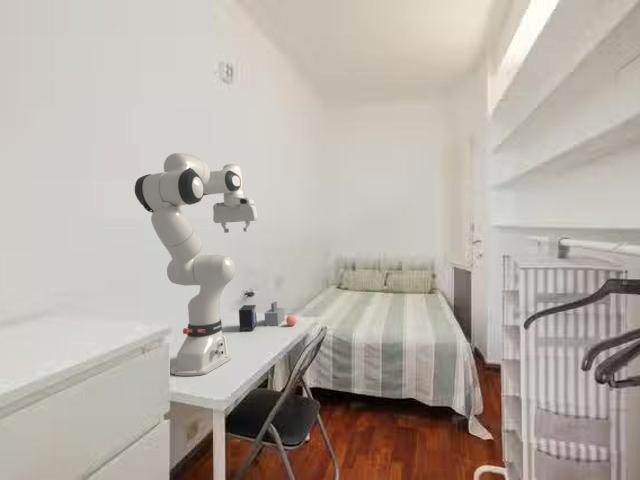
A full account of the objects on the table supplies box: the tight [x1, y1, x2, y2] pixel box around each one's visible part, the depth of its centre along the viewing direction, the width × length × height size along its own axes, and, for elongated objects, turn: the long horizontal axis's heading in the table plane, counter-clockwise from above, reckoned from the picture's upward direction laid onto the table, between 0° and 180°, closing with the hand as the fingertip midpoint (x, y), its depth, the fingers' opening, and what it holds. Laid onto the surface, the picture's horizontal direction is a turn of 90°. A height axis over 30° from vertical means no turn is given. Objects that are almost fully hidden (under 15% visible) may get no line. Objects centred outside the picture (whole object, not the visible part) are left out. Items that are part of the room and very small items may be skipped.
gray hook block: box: [264, 301, 286, 327], centre depth 184 cm, size 11×7×10 cm, turn 169°
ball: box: [285, 314, 297, 327], centre depth 177 cm, size 5×5×5 cm
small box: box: [238, 304, 258, 332], centre depth 176 cm, size 11×6×10 cm, turn 179°
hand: (236, 232), depth 166 cm, fingers open, 8 cm apart
